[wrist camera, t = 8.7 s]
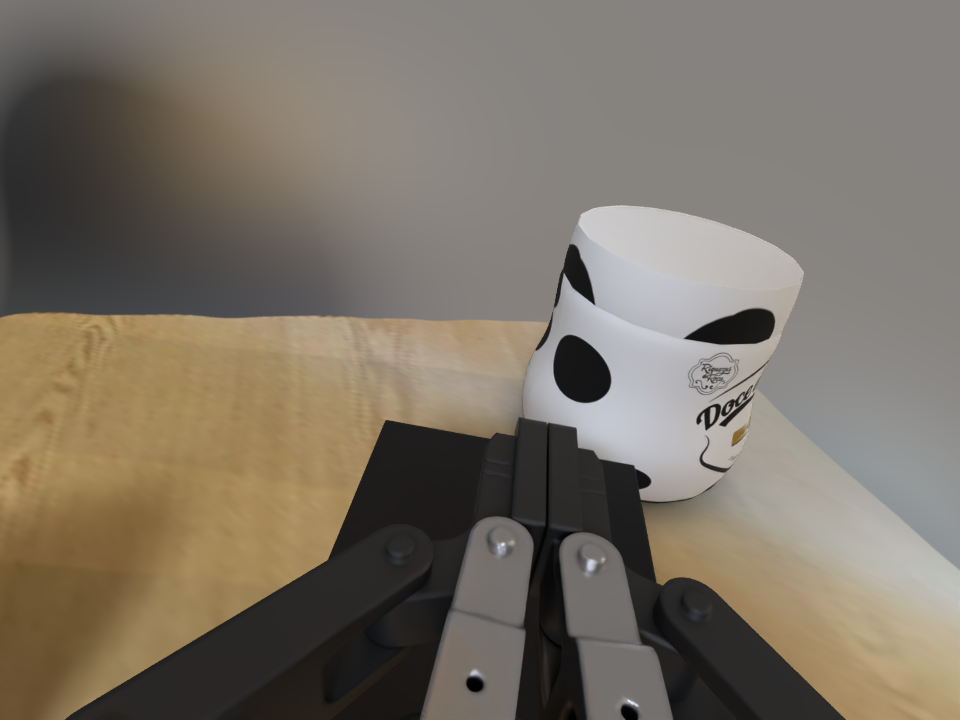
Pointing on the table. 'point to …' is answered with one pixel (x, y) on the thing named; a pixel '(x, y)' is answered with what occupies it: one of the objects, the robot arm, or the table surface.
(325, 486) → the table surface
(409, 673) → the black plate
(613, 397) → the milk container
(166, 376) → the table surface
